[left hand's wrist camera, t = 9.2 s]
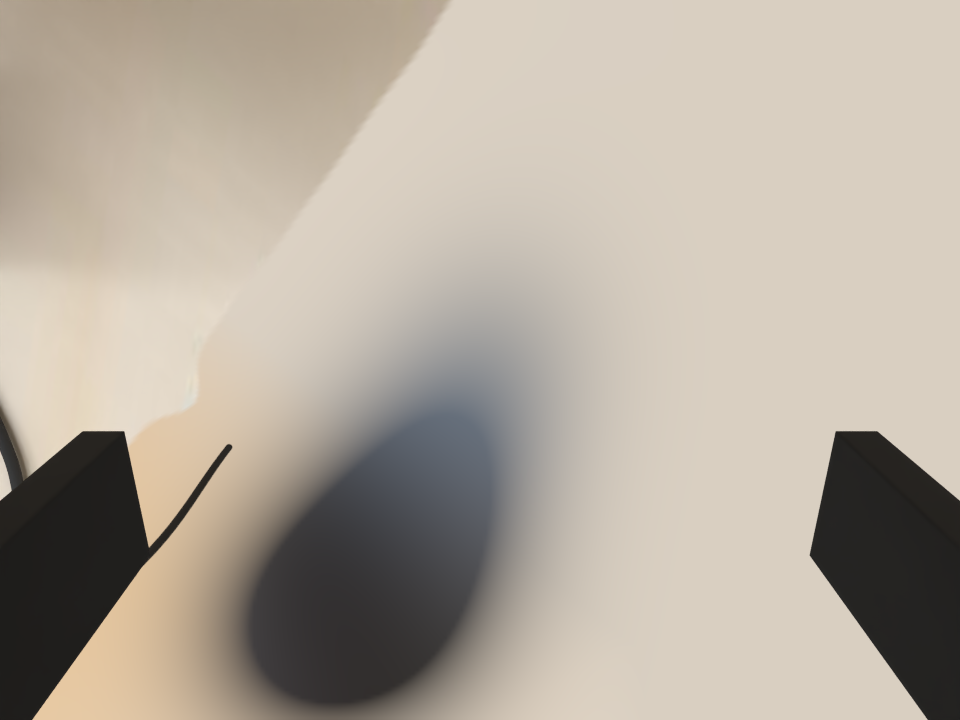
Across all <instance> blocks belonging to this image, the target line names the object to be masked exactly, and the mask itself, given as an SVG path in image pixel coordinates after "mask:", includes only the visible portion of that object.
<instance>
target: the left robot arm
mask: <svg viewBox="0 0 960 720" xmlns="http://www.w3.org/2000/svg"><path fill="white" fill-rule="evenodd" d="M231 449H232V445H231V444H227V445H226V446H225V448H224V449H223V450H222V451H221V453H220V454H219V455H218V457H217V458H216V459H215V461H214V462H213V463H212V465H211V466H210V468H209V469H208V471H207V472H206V473H205V475H204V476H203V478H202V479H201V481H200V482H199V484H198V485H197V486H196V488H195V489H194V491H193V492H192V494H191V495H190V497H189V498H188V500H187V501H186V502H185V504H184V505H183V507H182V508H181V509H180V511H179V512H178V514H177V515H176V516H175V517H174V519H173V520H172V521H171V523H170V524H169V525H168V526H167V528H166V529H165V530H164V531H163V532H162V534H161V535H160V536H159V537H158V538H157V539H156V540H155V542H154V543H153V544H152V545H151V546H150V547H148V542H147V537H146V533H145V528H144V523H143V518H142V514H141V509H140V504H139V499H138V495H137V490H136V485H135V480H134V476H133V471H132V466H131V461H130V457H129V452H128V447H127V442H126V438H125V433H124V431H83V432H81V433H80V434H79V435H78V436H77V437H75V438H74V439H73V440H72V441H71V442H69V443H68V444H67V445H66V446H65V447H64V448H62V449H61V450H60V451H59V452H58V453H56V454H55V455H54V456H53V457H52V458H50V459H49V460H48V461H47V462H46V463H45V464H43V465H42V466H41V467H40V468H39V469H37V470H36V471H35V472H34V473H33V474H32V475H30V476H29V477H28V478H27V479H26V480H24V481H23V477H22V473H21V469H20V465H19V462H18V459H17V456H16V453H15V451H14V448H13V445H12V443H11V440H10V438H9V436H8V433H7V431H6V429H5V426H4V424H3V422H2V420H1V418H0V451H1V454H2V456H3V459H4V462H5V465H6V468H7V471H8V475H9V479H10V484H11V489H12V491H11V492H10V493H9V494H8V495H7V496H5V497H4V498H3V499H2V500H1V501H0V720H32V719H33V718H34V716H35V715H36V714H37V712H38V711H39V709H40V708H41V707H42V705H43V704H44V703H45V701H46V700H47V698H48V697H49V696H50V694H51V693H52V691H53V690H54V689H55V687H56V686H57V684H58V683H59V682H60V680H61V679H62V678H63V676H64V675H65V673H66V672H67V671H68V669H69V668H70V666H71V665H72V664H73V662H74V661H75V659H76V658H77V657H78V655H79V654H80V652H81V651H82V650H83V648H84V647H85V646H86V644H87V643H88V641H89V640H90V639H91V637H92V636H93V634H94V633H95V632H96V630H97V629H98V627H99V626H100V625H101V623H102V622H103V620H104V619H105V618H106V616H107V615H108V613H109V612H110V611H111V609H112V608H113V607H114V605H115V604H116V602H117V601H118V600H119V598H120V597H121V595H122V594H123V593H124V591H125V590H126V588H127V587H128V586H129V584H130V583H131V581H132V580H133V579H134V577H135V576H136V575H137V573H138V572H139V570H140V569H141V568H142V567H143V566H144V565H145V564H146V563H147V562H148V560H149V559H150V558H151V557H152V556H153V555H154V554H155V553H156V552H157V551H158V550H159V549H160V548H161V546H162V545H163V544H164V543H165V542H166V541H167V540H168V538H169V537H170V536H171V535H172V533H173V532H174V531H175V530H176V528H177V527H178V526H179V524H180V523H181V522H182V520H183V519H184V517H185V516H186V515H187V513H188V512H189V510H190V509H191V507H192V506H193V505H194V503H195V502H196V500H197V499H198V497H199V496H200V494H201V493H202V491H203V490H204V488H205V487H206V485H207V484H208V482H209V481H210V479H211V478H212V476H213V475H214V473H215V472H216V470H217V469H218V467H219V466H220V464H221V463H222V462H223V460H224V459H225V457H226V456H227V455H228V453H229V452H230V451H231ZM810 556H811V558H812V559H813V561H814V562H815V563H816V565H817V566H818V568H819V569H820V570H821V572H822V573H823V575H824V576H825V577H826V579H827V580H828V581H829V583H830V584H831V586H832V587H833V588H834V590H835V591H836V593H837V594H838V595H839V597H840V598H841V600H842V601H843V602H844V604H845V605H846V606H847V608H848V609H849V611H850V612H851V614H852V615H853V616H854V618H855V619H856V620H857V622H858V623H859V625H860V626H861V627H862V629H863V630H864V632H865V633H866V634H867V636H868V637H869V639H870V640H871V641H872V643H873V644H874V646H875V647H876V648H877V650H878V651H879V652H880V654H881V655H882V656H883V658H884V659H885V661H886V662H887V664H888V665H889V666H890V668H891V669H892V670H893V672H894V673H895V675H896V676H897V677H898V679H899V680H900V682H901V683H902V684H903V686H904V687H905V689H906V690H907V691H908V693H909V694H910V696H911V697H912V698H913V700H914V701H915V703H916V704H917V705H918V707H919V708H920V709H921V711H922V712H923V714H924V715H925V716H926V718H927V719H928V720H960V501H959V500H958V499H957V498H956V497H955V496H953V495H952V494H951V493H950V492H949V491H947V490H946V489H945V488H944V487H943V486H942V485H940V484H939V483H938V482H937V481H936V480H934V479H933V478H932V477H931V476H930V475H928V474H927V473H926V472H925V471H924V470H923V469H921V468H920V467H919V466H918V465H917V464H915V463H914V462H913V461H912V460H911V459H910V458H908V457H907V456H906V455H905V454H904V453H902V452H901V451H900V450H899V449H898V448H896V447H895V446H894V445H893V444H892V443H891V442H889V441H888V440H887V439H886V438H885V437H883V436H882V435H881V434H880V433H879V432H877V431H836V433H835V438H834V442H833V447H832V452H831V457H830V461H829V466H828V471H827V476H826V480H825V485H824V490H823V495H822V499H821V504H820V509H819V513H818V518H817V523H816V528H815V532H814V537H813V542H812V547H811V551H810Z"/></svg>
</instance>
